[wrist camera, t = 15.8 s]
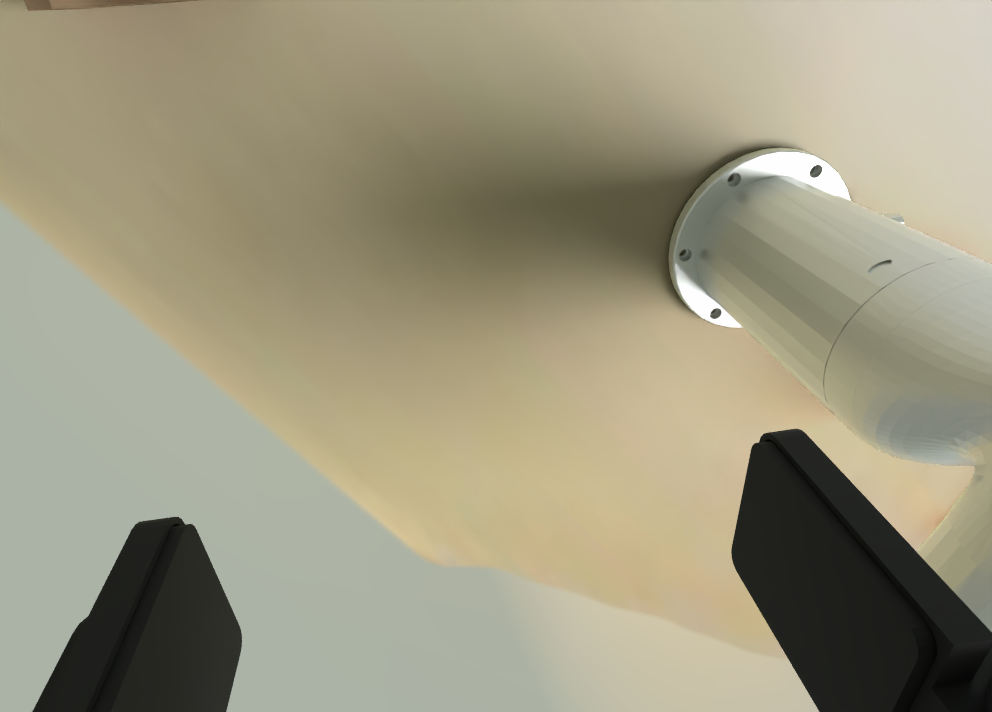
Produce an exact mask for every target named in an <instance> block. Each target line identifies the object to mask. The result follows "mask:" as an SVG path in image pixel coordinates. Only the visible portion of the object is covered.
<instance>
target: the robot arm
mask: <svg viewBox="0 0 992 712" xmlns="http://www.w3.org/2000/svg"><path fill="white" fill-rule="evenodd" d="M730 175H731V177H730V178H729V176H730ZM728 178H729V179H728ZM682 250H683V252H682V253H680V252H681V251H682ZM669 272H670V275H671V279H672V283H673V286H674V288H675V290H676V291H677V293H678V295H679V297H680V298H681V300H682V301H683V302H684V303H685V304H686V305H687V306H688V308H689V309H690V310H692V311H693V312H694V313H695V314H696V315H697V316H699V317H700V318H702V319H704V320H705V321H707V322H709V323H712V324H716V325H719V326H723V327H732V328H744V329H745V330H746V331H747V332H748V333H749V334H750V335H751V336H752V337H753V338H754V339H755V340H756V341H757V342H758V343H759V344H760V345H761V346H763V347H764V348H765V349H766V350H767V351H768V352H769V353H770V354H771V355H772V356H773V357H774V358H775V359H776V360H777V361H778V362H779V363H780V364H781V365H782V366H783V367H785V368H786V369H787V370H788V371H789V372H790V373H791V374H792V375H793V376H794V377H795V378H796V379H797V380H798V381H799V382H800V383H801V384H802V385H803V386H804V387H805V388H807V389H808V390H809V391H810V392H811V393H812V394H813V395H814V396H815V397H816V398H817V399H818V400H819V401H820V402H821V403H822V404H823V405H824V406H825V407H826V408H827V409H829V410H830V411H831V412H832V413H833V414H834V415H835V416H836V417H837V418H838V419H839V420H840V421H841V422H842V423H843V424H844V425H845V426H846V427H847V428H848V429H849V430H850V431H852V432H853V433H854V434H855V435H856V436H857V437H859V438H860V439H861V440H862V441H864V442H865V443H867V444H868V445H870V446H872V447H874V448H875V449H877V450H879V451H881V452H883V453H886V454H888V455H891V456H893V457H896V458H899V459H903V460H908V461H913V462H918V463H924V464H933V465H945V466H975V472H974V475H973V477H972V479H971V481H970V483H969V485H968V486H967V487H966V489H965V490H964V491H963V493H962V494H961V495H960V497H959V498H958V499H957V501H956V502H955V503H954V504H953V505H952V507H951V509H950V512H949V513H948V514H947V515H946V517H945V518H944V519H943V520H942V521H941V522H940V524H939V525H938V526H937V527H936V528H935V530H934V531H933V532H932V533H931V534H930V535H929V537H928V538H927V539H926V540H925V541H924V543H923V544H922V545H921V546H920V547H919V548H918V550H917V551H915V550H914V549H913V548H912V547H911V545H910V544H909V543H908V542H907V541H906V540H905V539H904V538H903V537H902V536H901V535H900V534H899V533H898V532H897V531H896V529H895V528H894V527H893V526H892V525H891V524H890V523H889V522H888V521H887V520H886V519H885V518H884V517H883V516H882V514H881V513H880V512H879V511H878V510H877V509H876V508H875V507H874V506H873V505H872V504H871V503H870V502H869V501H868V500H867V498H866V497H865V496H864V495H863V494H862V493H861V492H860V491H859V490H858V489H857V488H856V487H855V486H854V485H853V484H852V482H851V481H850V480H849V479H848V478H847V477H846V476H845V475H844V474H843V473H842V472H841V471H840V470H839V469H838V468H837V466H836V465H835V464H834V463H833V462H832V461H831V460H830V459H829V458H828V457H827V456H826V455H825V454H824V453H823V452H822V450H821V449H820V448H819V447H818V446H817V445H816V444H815V443H814V442H813V441H812V440H811V439H810V438H809V437H808V436H807V434H806V433H804V432H803V431H802V430H799V429H791V430H784V431H777V432H770V433H765V434H763V435H762V436H761V438H760V441H759V443H755V444H754V445H753V446H752V449H751V454H750V459H749V464H748V469H747V474H746V479H745V484H744V489H743V494H742V499H741V504H740V509H739V514H738V519H737V524H736V529H735V534H734V540H733V545H732V552H731V553H732V560H733V564H734V566H735V569H736V571H737V573H738V574H739V576H740V578H741V580H742V581H743V583H744V585H745V586H746V588H747V590H748V591H749V593H750V595H751V596H752V598H753V600H754V602H755V603H756V605H757V607H758V608H759V610H760V612H761V613H762V615H763V617H764V618H765V620H766V622H767V624H768V625H769V627H770V629H771V630H772V632H773V634H774V635H775V637H776V639H777V640H778V642H779V644H780V646H781V647H782V649H783V651H784V652H785V654H786V656H787V657H788V659H789V661H790V662H791V664H792V666H793V668H794V669H795V671H796V673H797V674H798V676H799V678H800V679H801V681H802V683H803V684H804V686H805V688H806V690H807V691H808V693H809V695H810V696H811V698H812V700H813V701H814V703H815V705H816V706H817V708H818V710H819V712H992V263H990V262H987V261H985V260H983V259H981V258H978V257H976V256H974V255H972V254H969V253H967V252H965V251H963V250H960V249H958V248H956V247H954V246H951V245H949V244H947V243H945V242H942V241H940V240H938V239H936V238H933V237H931V236H929V235H927V234H925V233H922V232H920V231H918V230H916V229H913V228H911V227H909V226H907V225H904V220H903V217H902V216H901V215H900V214H887V215H882V214H880V213H877V212H875V211H873V210H871V209H868V208H866V207H864V206H862V205H859V204H857V203H855V202H853V201H851V199H850V196H849V193H848V190H847V186H846V184H845V182H844V181H843V179H842V178H841V176H840V175H839V173H838V172H837V171H836V170H835V169H834V168H833V167H832V166H831V165H830V164H829V163H828V162H827V161H825V160H823V159H821V158H819V157H817V156H815V155H813V154H810V153H807V152H804V151H801V150H798V149H791V148H782V147H780V148H770V149H762V150H759V151H755V152H752V153H749V154H745V155H743V156H741V157H739V158H737V159H735V160H733V161H731V162H729V163H727V164H726V165H724V166H723V167H722V168H720V169H719V170H718V171H716V172H715V173H713V174H712V175H711V176H710V177H709V178H708V179H707V180H706V181H705V182H704V183H703V184H702V185H701V186H700V187H699V188H698V189H697V190H696V191H695V192H694V194H693V195H692V197H691V198H690V199H689V201H688V202H687V203H686V205H685V206H684V208H683V210H682V212H681V214H680V216H679V218H678V220H677V222H676V225H675V228H674V231H673V234H672V237H671V241H670V248H669ZM241 646H242V635H241V629H240V626H239V624H238V622H237V620H236V617H235V615H234V613H233V610H232V608H231V606H230V604H229V602H228V599H227V597H226V595H225V593H224V590H223V588H222V586H221V584H220V581H219V579H218V577H217V575H216V572H215V570H214V568H213V566H212V563H211V561H210V559H209V557H208V554H207V552H206V550H205V548H204V546H203V543H202V541H201V539H200V537H199V534H198V533H197V530H196V528H195V526H193V525H192V524H188V525H185V524H184V522H183V521H182V519H180V518H179V517H171V518H164V519H157V520H149V521H142V522H139V523H137V524H136V525H135V526H134V528H133V529H132V530H131V532H130V534H129V536H128V538H127V540H126V542H125V545H124V546H123V548H122V550H121V552H120V554H119V556H118V558H117V560H116V562H115V564H114V566H113V568H112V570H111V572H110V574H109V576H108V578H107V580H106V582H105V584H104V586H103V588H102V590H101V592H100V594H99V596H98V598H97V600H96V602H95V604H94V606H93V608H92V610H91V612H90V614H89V616H88V617H87V618H86V619H84V620H83V621H82V622H81V623H80V624H79V625H78V627H77V628H76V630H75V631H74V633H73V634H72V636H71V638H70V640H69V642H68V644H67V646H66V648H65V649H64V652H63V653H62V655H61V658H60V659H59V661H58V663H57V665H56V667H55V669H54V671H53V673H52V675H51V677H50V679H49V681H48V683H47V684H46V686H45V688H44V690H43V692H42V694H41V696H40V698H39V700H38V702H37V704H36V706H35V708H34V710H33V712H226V710H227V706H228V702H229V698H230V694H231V690H232V686H233V681H234V677H235V673H236V669H237V665H238V661H239V656H240V652H241Z"/></svg>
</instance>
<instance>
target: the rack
mask: <svg viewBox="0 0 992 712" xmlns="http://www.w3.org/2000/svg"><path fill="white" fill-rule="evenodd" d="M24 1H25V3H26V6H27V8H28V11H33V10H65V9H85V8H99V7H113V6H127V5H141V4H155V3H169V2H183V1H197V0H24Z"/></svg>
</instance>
